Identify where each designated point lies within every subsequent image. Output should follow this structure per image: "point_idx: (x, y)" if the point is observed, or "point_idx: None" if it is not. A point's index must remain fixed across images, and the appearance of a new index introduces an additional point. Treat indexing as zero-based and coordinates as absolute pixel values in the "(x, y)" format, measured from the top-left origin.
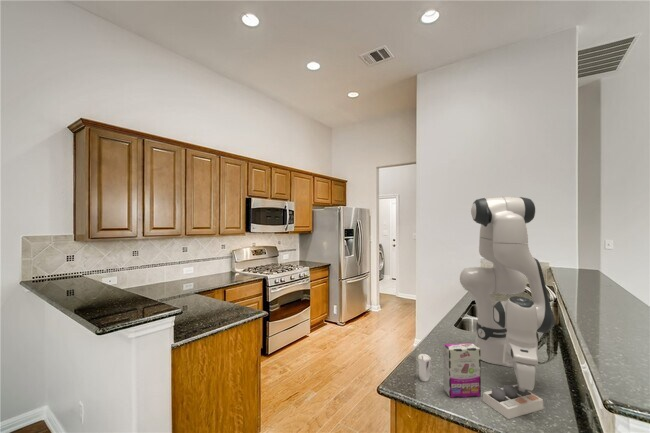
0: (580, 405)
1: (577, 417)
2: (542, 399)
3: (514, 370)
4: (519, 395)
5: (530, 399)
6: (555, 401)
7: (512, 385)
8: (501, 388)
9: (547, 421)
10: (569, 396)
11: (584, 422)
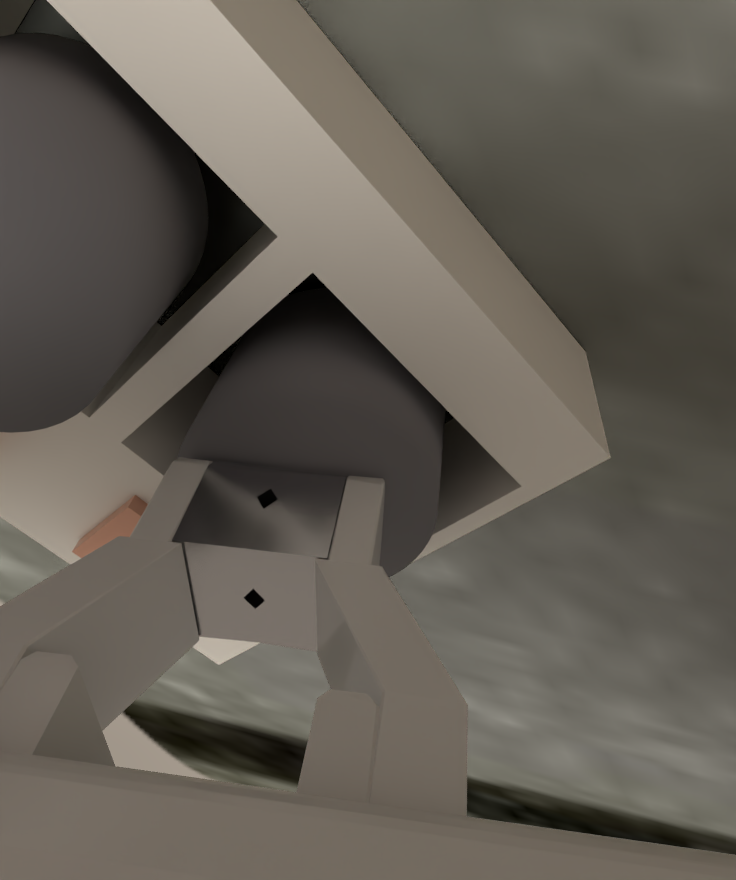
0: (511, 820)
1: (276, 742)
2: (218, 659)
3: (245, 863)
4: (119, 400)
5: (97, 529)
6: (509, 701)
7: (520, 363)
8: (211, 29)
9: (6, 522)
10: (666, 817)
11: (222, 752)
